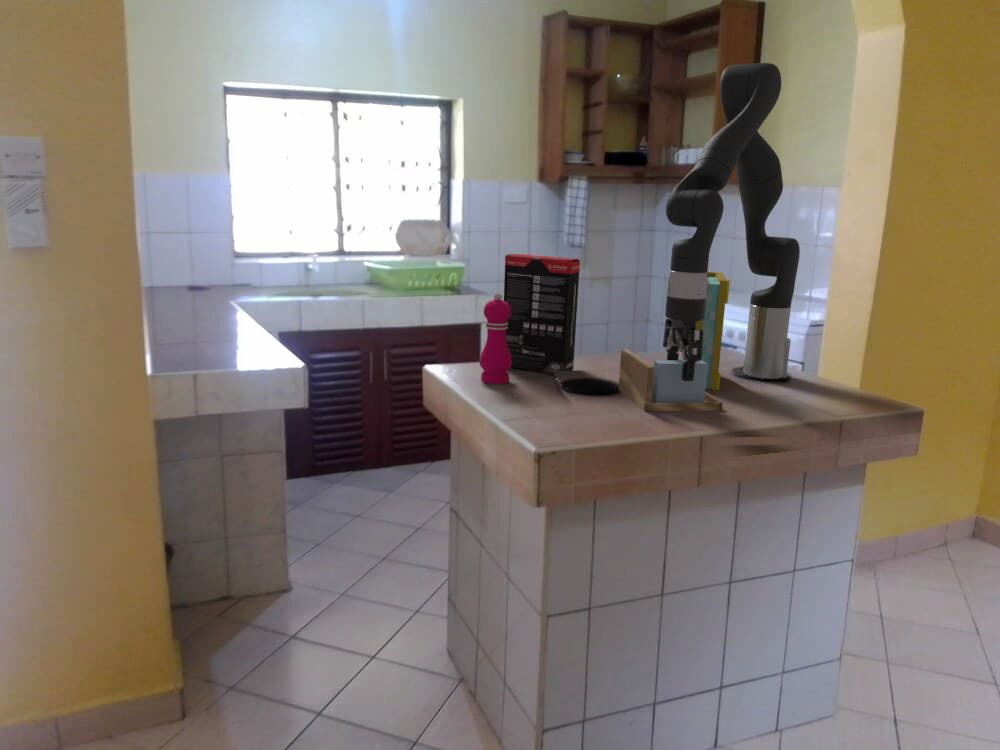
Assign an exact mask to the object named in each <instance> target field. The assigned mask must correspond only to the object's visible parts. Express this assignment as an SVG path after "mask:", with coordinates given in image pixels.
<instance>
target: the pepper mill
mask: <svg viewBox="0 0 1000 750" xmlns="http://www.w3.org/2000/svg"><path fill="white" fill-rule="evenodd" d="M502 296H503V295H502V293H500V292H495V293H494V295H493V299H491V300H489V301H488V302H487V303H485V305H484V307H483V315H484V318H486V321H485V328H486V329H487V330H486V333H487V336H486V342H485V345H484V347H483V349H482V351H481V354H480V356H479V366H480V367H481V369H482V370H483V371H482V372H481V374H480V375H481V376H480V380H481V382H483V383H484V382H485V384H488V383H490V385H503V384H504V385H505V384H507V383H509V381H510V373H509V372H508V370H509V369H511V368H512V367H511V365H512V359H511V355H510V352H509V349H508V347H507V344H506V329H507V328H508V325H507V324H508V322H506V321H507V319H508V318H509V317H510V314H511V309H510V306H509V304H508V303H507V302H505V301H504V299H502Z"/></svg>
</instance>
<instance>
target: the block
mask: <svg viewBox="0 0 1000 750" xmlns="http://www.w3.org/2000/svg"><path fill="white" fill-rule="evenodd" d="M683 362H684V361H683V359H682V360H681V359H680V360H679V359H678V360H667V359H665V360H664V359H663V360H660V359H659V360H658V359H657V360H653V363H654V372H653V384H652V397H651V403H678V402H704V397H705V392H706V389H705V387H706V376H707V366H708V364H707V363H706V362H704V361H702V360H701V361H697V362H695V370H694V379H693V381H683V380H682V367H683Z"/></svg>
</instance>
